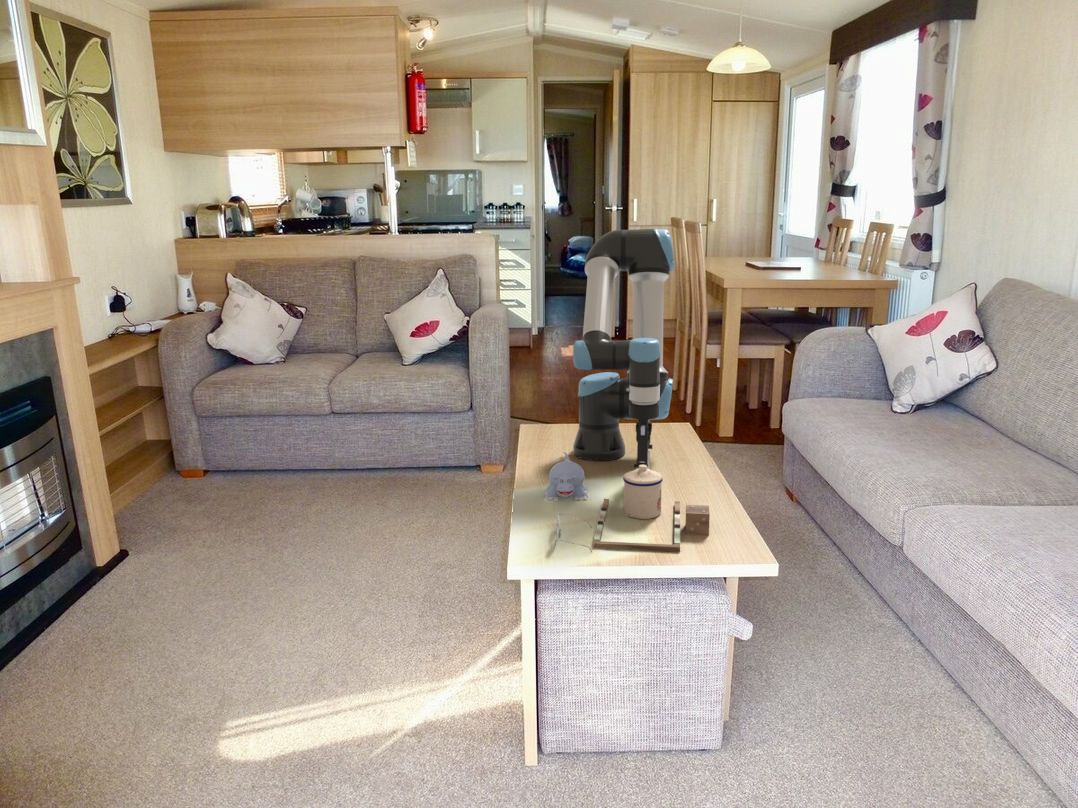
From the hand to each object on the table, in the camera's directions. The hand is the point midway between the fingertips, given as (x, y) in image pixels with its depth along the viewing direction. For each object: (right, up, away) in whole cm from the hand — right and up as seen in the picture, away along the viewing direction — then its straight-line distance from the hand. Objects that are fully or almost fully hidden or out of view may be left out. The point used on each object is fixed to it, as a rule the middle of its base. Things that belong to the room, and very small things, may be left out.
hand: (643, 482), depth 201 cm
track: (-4, -7, -21) cm, 23 cm away
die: (+9, -8, -25) cm, 28 cm away
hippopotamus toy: (-20, -4, -3) cm, 20 cm away
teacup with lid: (-2, -5, -13) cm, 14 cm away
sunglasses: (-19, -10, -28) cm, 35 cm away
